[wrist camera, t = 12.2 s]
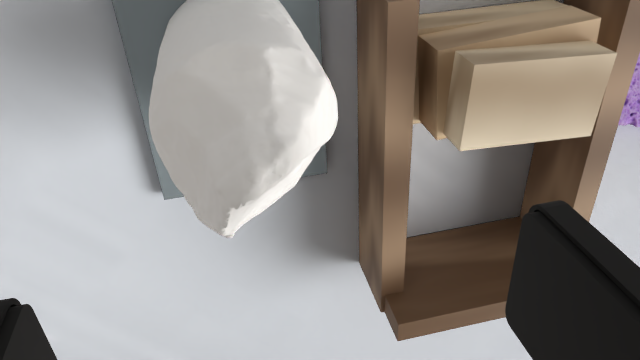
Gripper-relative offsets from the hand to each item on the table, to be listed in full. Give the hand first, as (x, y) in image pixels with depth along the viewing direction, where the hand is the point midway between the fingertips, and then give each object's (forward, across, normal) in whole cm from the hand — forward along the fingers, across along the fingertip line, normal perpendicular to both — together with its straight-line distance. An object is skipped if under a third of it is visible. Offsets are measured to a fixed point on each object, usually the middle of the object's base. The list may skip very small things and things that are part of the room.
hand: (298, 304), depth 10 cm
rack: (+15, -11, +5) cm, 20 cm away
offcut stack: (+15, -11, +1) cm, 19 cm away
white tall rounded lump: (+14, 0, -1) cm, 15 cm away
